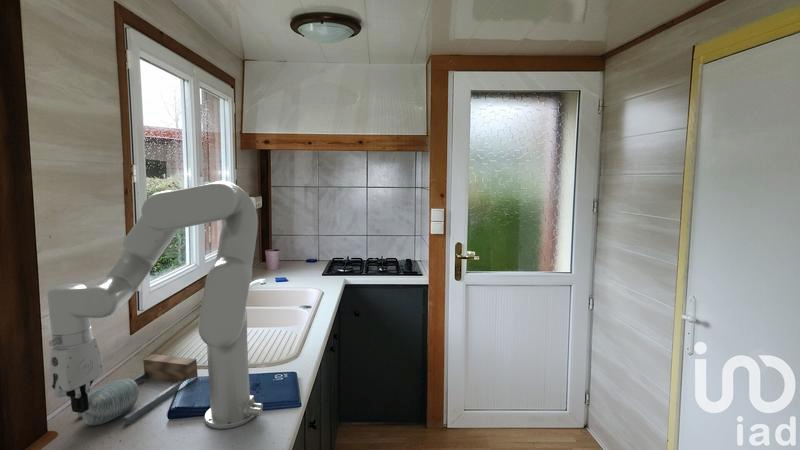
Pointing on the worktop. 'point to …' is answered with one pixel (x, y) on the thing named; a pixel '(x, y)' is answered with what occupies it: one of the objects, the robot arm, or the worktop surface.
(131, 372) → the worktop surface
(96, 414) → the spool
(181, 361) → the end stop
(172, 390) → the guide rails
